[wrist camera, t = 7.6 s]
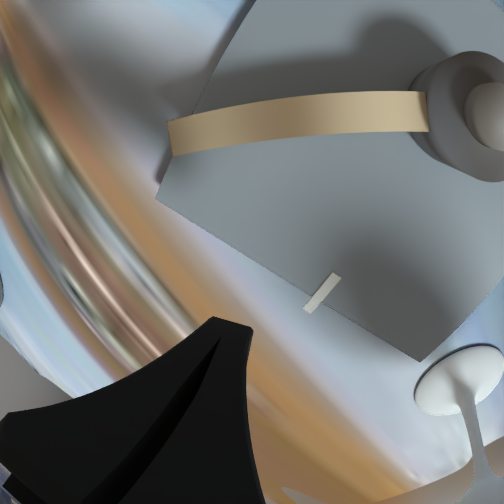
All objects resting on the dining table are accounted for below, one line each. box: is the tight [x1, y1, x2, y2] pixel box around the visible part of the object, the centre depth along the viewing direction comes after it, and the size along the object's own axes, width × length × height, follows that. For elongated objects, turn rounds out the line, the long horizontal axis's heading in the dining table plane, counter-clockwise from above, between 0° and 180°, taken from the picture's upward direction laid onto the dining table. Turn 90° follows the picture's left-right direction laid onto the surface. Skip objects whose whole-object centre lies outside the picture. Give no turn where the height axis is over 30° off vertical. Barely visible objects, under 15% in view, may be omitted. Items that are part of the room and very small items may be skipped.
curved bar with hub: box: [167, 51, 504, 182], centre depth 9 cm, size 19×5×5 cm, turn 99°
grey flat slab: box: [155, 0, 504, 362], centre depth 13 cm, size 20×22×2 cm
